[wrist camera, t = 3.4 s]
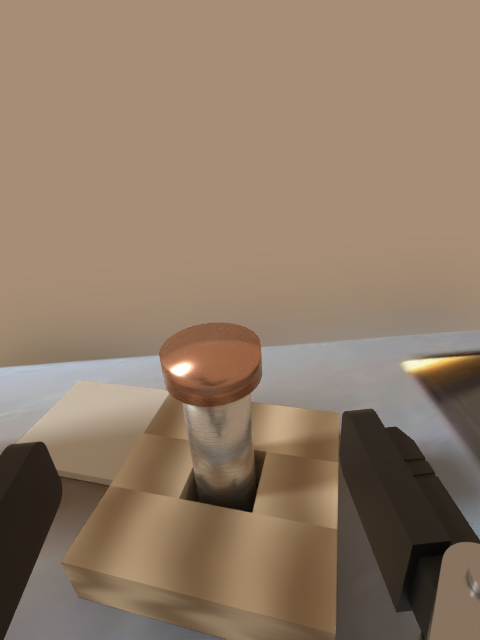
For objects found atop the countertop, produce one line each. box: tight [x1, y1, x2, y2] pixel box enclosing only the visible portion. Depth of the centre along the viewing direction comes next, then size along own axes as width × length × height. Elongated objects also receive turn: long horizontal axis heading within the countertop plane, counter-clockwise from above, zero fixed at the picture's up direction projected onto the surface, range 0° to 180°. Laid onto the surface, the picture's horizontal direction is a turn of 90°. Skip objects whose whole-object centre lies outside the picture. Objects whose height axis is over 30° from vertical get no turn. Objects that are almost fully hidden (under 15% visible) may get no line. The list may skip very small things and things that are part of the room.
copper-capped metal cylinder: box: [159, 323, 262, 513], centre depth 25 cm, size 6×6×15 cm
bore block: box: [61, 394, 339, 640], centre depth 28 cm, size 16×16×4 cm
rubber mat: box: [15, 380, 169, 486], centre depth 37 cm, size 12×12×1 cm
